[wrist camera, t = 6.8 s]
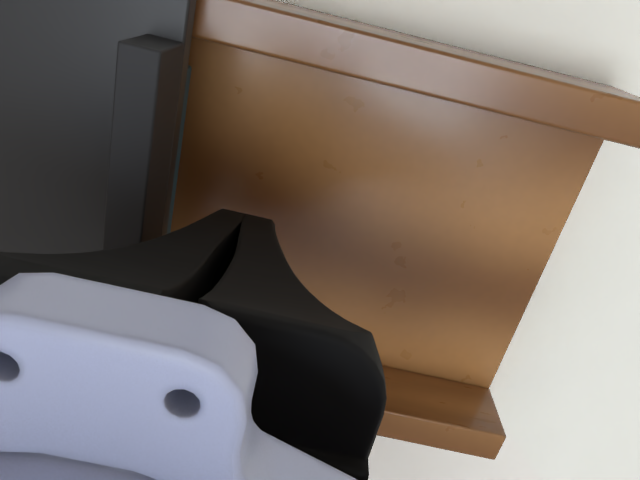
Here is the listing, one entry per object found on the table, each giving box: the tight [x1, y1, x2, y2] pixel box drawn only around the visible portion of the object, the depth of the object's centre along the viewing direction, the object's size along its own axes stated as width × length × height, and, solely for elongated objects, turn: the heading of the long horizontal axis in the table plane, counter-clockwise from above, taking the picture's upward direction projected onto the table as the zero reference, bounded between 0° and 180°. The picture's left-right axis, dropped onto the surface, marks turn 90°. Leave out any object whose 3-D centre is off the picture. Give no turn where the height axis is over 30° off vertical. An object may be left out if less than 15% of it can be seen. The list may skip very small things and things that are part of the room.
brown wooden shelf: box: [170, 0, 640, 459], centre depth 15 cm, size 11×22×3 cm, turn 77°
